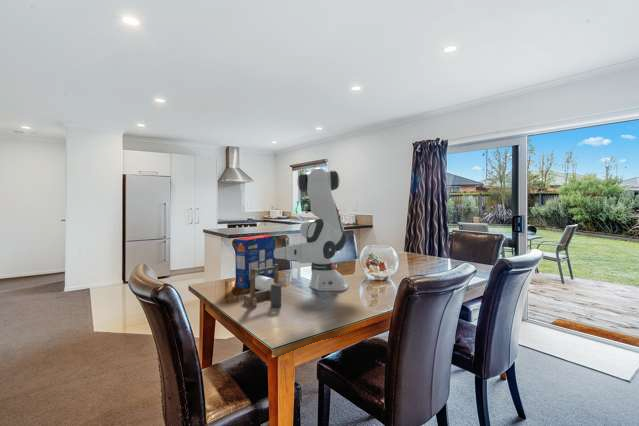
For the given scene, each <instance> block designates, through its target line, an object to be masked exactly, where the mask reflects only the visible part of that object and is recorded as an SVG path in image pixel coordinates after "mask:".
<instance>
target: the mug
mask: <svg viewBox="0 0 639 426" xmlns="http://www.w3.org/2000/svg"><path fill="white" fill-rule="evenodd" d="M273 283H274V279H273V278H269V277H265V276H261V275H258V276H256V277H255V290H257V291H263V290H267V289H271V285H273Z"/></svg>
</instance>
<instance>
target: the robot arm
mask: <svg viewBox="0 0 639 426" xmlns="http://www.w3.org/2000/svg"><path fill="white" fill-rule="evenodd" d="M296 181H297V182H296V183H297V186H298V189H299V191H300V192H301V193H307V197H308V200H309V204H310V211H311V214H313V215H314V216H315V217H317V219H310V220H304V221H303V222H302V223H301V224H300V227H299V228H300V229H299V231H300V234H301V236H302V237H303V238H304V239H305V240H306V241H305V242H301V243H296V244H286V246H282V247H279V248H275V250H274V258H275V259H279V260H280V259H281V260H286V261H290V262H295V263H298V264H310V263H311V265H310V267H311V268H310V269H311V276H310V277H311V278H310V282H309V285H308V286H309V288H311V289H313V290H316V291H320V292H321V291H324V292H325V291H328V292H329V291H330V292H331V291H333V292H334V291H341V292H342V291H346V290H347V289H348V287H349V286H348V285H349V284H348V283H346V282H345V279H344V276H343V275H342V274H341V273H340V272H339V271H338V270H336V268H335V263H333V262H332V258H333V257H334V256H335V254H336V252H339V251H340V250H342V249H343V248H344V247H345V245H346V243H347V234H346V232H345V227H344V224H343V223H342V222H341V218H340V215H339V210H338V207H337V205H336V202H335V200H334V199H335V198H334V196H333V194H332V191H336V190H338V189H339V186H340V184H341V182H340V181H341V179H340V175H339V174H338V172H337V171H336V170H332V169H331V170H325V169H324V168H321V167H315V168H313V169H311V170H310V171H309V172H302V173H300V174H299V175H298V177H297V180H296Z"/></svg>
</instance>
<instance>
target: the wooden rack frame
mask: <svg viewBox="0 0 639 426" xmlns="http://www.w3.org/2000/svg"><path fill="white" fill-rule="evenodd" d="M269 270H274V283H276V284H279V264H278V263H275V264H274V266H271V267H266V268H260V269H255V268H250V288H249V289H250V293H248V294H246V293H245V294H244V295H243V304H245V305H248V306H250V307H252V308H256V307H257V304H258V303H257V302H258V301H262V300H265V299H271V289H267V290H263V291H260V290H258V291H256V289H255V273H258V272H263V271H265V275H268V271H269Z"/></svg>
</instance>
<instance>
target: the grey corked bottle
mask: <svg viewBox="0 0 639 426" xmlns="http://www.w3.org/2000/svg"><path fill="white" fill-rule="evenodd" d="M281 307H282V284H280V283H278V284H276V283H273V285H271V298H270V308H273V309H278V308H281Z"/></svg>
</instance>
